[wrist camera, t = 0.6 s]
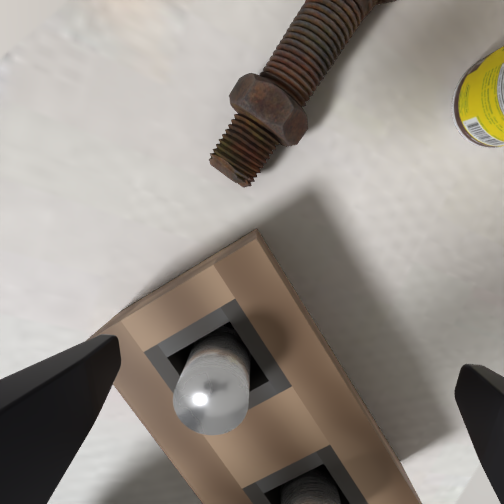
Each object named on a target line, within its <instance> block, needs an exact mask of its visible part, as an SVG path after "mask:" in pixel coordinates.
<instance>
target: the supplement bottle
mask: <svg viewBox="0 0 504 504" xmlns="http://www.w3.org/2000/svg"><path fill="white" fill-rule="evenodd" d="M452 117H453V121H454V124H455V126H456V128H457V130H458V131H459V133H460V134H461V135H462V136H463V137H464V138H465V139H466V140H468V141H469V142H471V143H473V144H475V145H478V146H481V147H488V148H494V147H502V146H504V46H503V47H501V48H500V49H498V50H496V51H495V52H493V53H491V54H490V55H488V56H486V57H485V58H483V59H482V60H480V61H479V62H477V63H476V64H475V65H473V66H472V67H471V68H470V69H469V70H468V71H467V72H466V73H465V74H464V75H463V77H462V78H461V80H460V81H459V83H458V85H457V87H456V89H455V92H454V95H453V99H452Z"/></svg>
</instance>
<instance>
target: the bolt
mask: <svg viewBox="0 0 504 504" xmlns="http://www.w3.org/2000/svg"><path fill="white" fill-rule="evenodd" d="M392 1H396V0H306V1H305V4H304V5H303V6H302V7H301V10H300V11H299V12H298V14H297V16H296V17H295V18H294V20H293V22H292V23H291V24H290V28H288V29H287V32H286V34H285V35H284V36H283V39H282V40H281V41H280V44H279V45H278V46H277V47H276V50H275V51H274V52H273V56H271V57H270V61H269V62H268V63H267V67H264V69H263V72H261V73H260V76H259V75H256V74H253V73H249V74H246V75H244V76H243V77H241V78H239V80H238V82H237V83H236V85H235V86H234V88H233V90H232V91H231V93H230V95H229V97H230V104H231V106H232V107H233V108H234V110H235V111H236V112H237V113H238V114H235V115H234V116H235V119H232V120H231V121H232V124H229V125H228V126H229V129H225V131H226V134H222V136H223V139H219V141H220V144H216V146H217V148H216V149H213V151H214V153H210V155H211V158H210V159H209V161H210V164H211V165H212V166H213V167H215V168H216V169H217V170H219V171H220V172H221V173H223V174H224V175H225V176H227V177H228V178H229V179H231V180H232V181H234V182H235V183H238V184H239V185H241V186H242V187H247V186H252V185H251V182H255V181H254V177H257V173H260V168H263V164H265V163H266V159H270V157H269V154H273V152H272V150H276V146H275V145H279V144H281V145H284V146H286V147H287V146H292V145H297V144H298V142H299V141H300V139H301V138H302V137H303V135H304V134H305V132H306V131H307V129H308V123H307V116H306V114H305V112H304V111H303V109H302V106H306V102H305V101H309V96H312V95H313V92H312V91H315V90H316V88H317V87H316V86H319V85H320V81H322V80H323V79H324V77H323V76H325V75H326V74H327V71H328V70H329V69H330V68H331V66H332V65H333V64H334V60H336V59H337V56H338V55H339V54H340V53H341V50H342V49H344V47H345V45H346V44H347V43H348V41H349V39H350V38H351V37H352V35H353V33H354V32H355V31H356V29H357V27H358V26H359V25H360V23H361V22H362V20H363V19H364V18H365V16H367V15H368V14H369V13H370V12H371V10H372V9H373V7H374V6H375V5H378V4H383V3H387V2H392Z"/></svg>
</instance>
